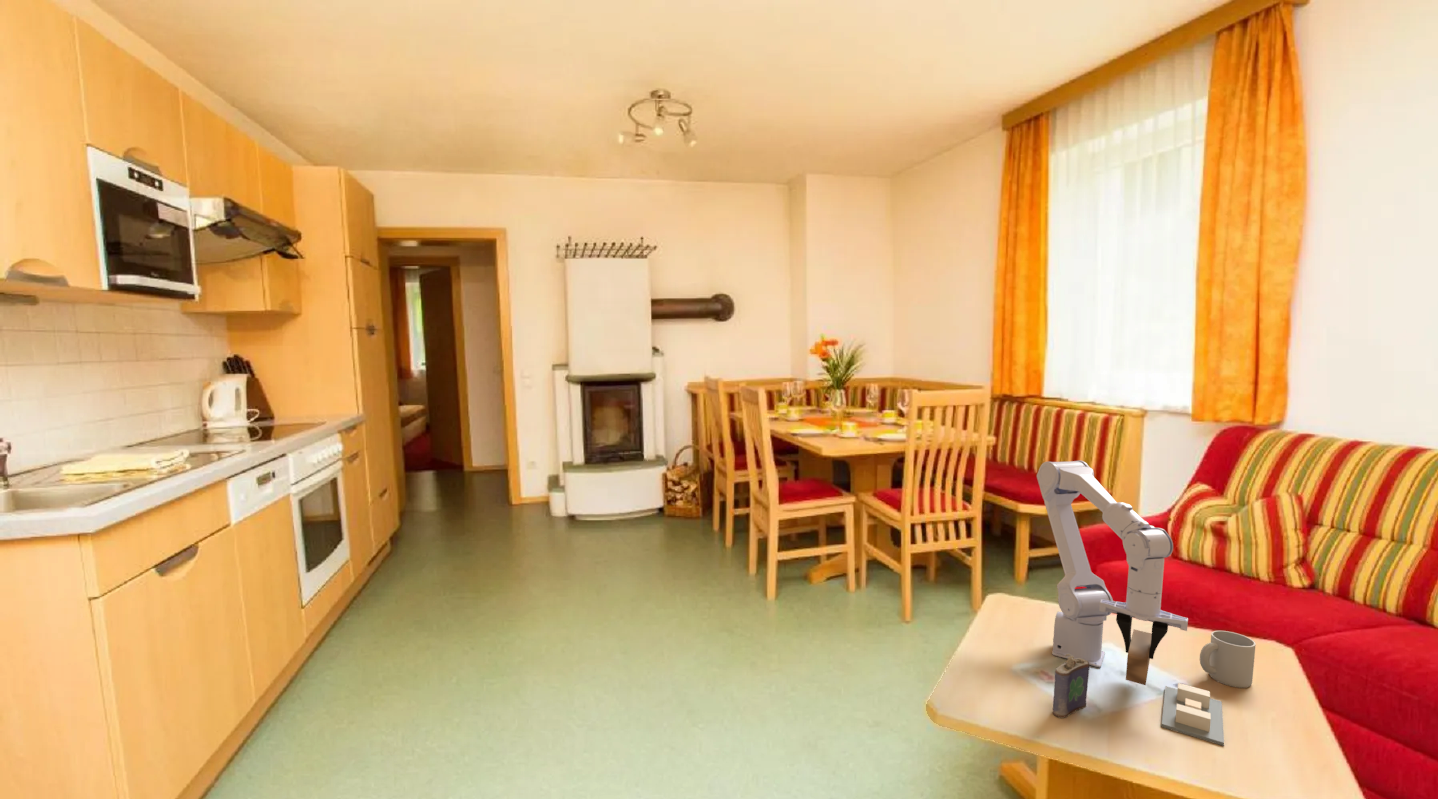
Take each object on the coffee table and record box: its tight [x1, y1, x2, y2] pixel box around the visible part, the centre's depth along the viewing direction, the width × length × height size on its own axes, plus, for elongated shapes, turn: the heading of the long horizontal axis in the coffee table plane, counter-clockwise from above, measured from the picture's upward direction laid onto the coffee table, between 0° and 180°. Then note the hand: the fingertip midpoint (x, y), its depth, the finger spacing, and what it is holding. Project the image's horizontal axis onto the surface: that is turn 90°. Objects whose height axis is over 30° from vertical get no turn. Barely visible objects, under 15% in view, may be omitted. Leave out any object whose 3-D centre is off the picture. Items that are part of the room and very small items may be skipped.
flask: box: [1052, 654, 1090, 719], centre depth 121 cm, size 9×3×11 cm, turn 121°
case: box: [1125, 628, 1152, 686], centre depth 127 cm, size 3×14×5 cm, turn 143°
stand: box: [1161, 682, 1225, 746], centre depth 120 cm, size 9×16×3 cm, turn 143°
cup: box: [1199, 630, 1257, 689], centre depth 132 cm, size 7×10×9 cm
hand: (1139, 653), depth 127 cm, fingers closed on case, 3 cm apart
